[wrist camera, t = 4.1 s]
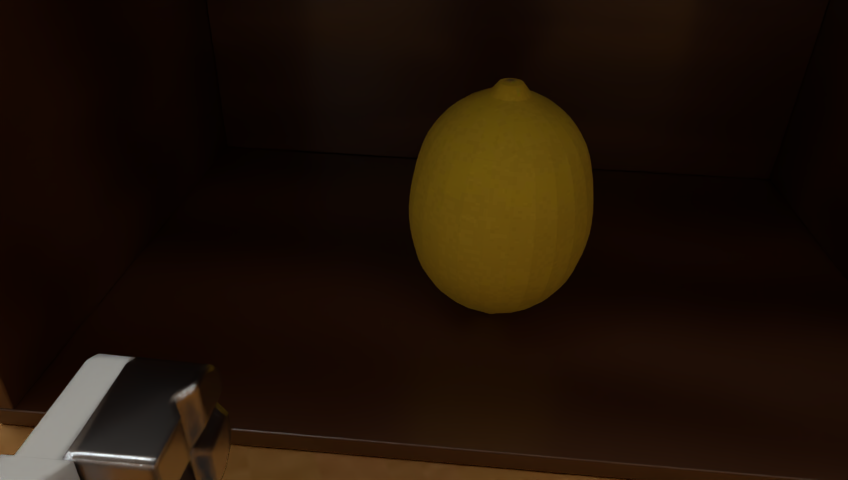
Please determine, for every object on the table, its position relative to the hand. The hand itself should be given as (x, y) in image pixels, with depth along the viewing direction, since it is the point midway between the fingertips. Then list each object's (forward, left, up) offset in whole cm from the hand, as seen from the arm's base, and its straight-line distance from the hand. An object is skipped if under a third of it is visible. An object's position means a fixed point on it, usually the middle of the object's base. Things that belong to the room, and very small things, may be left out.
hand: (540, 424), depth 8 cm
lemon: (-5, +11, -8) cm, 14 cm away
